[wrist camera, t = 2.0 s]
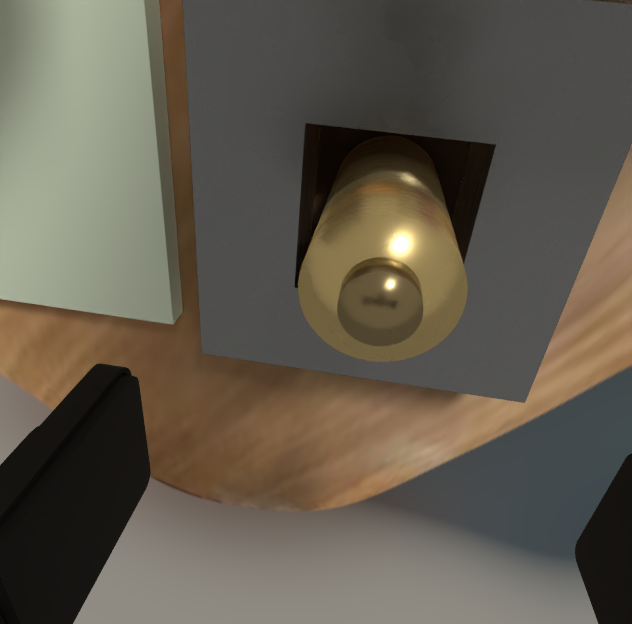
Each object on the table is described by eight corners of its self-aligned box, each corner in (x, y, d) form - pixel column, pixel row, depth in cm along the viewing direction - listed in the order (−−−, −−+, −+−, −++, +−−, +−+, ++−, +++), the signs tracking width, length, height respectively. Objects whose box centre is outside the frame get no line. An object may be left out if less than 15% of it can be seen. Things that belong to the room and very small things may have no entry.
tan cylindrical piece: (341, 129, 22) (297, 214, 12) (448, 141, 22) (494, 239, 12) (331, 229, 25) (287, 367, 15) (426, 241, 25) (449, 392, 14)
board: (-136, -29, 22) (-168, -32, 21) (159, -1, 21) (144, -3, 19) (-31, 280, 30) (-50, 291, 29) (182, 311, 29) (173, 324, 28)
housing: (225, -23, 20) (180, -37, 16) (620, 12, 19) (687, 8, 15) (230, 304, 28) (201, 353, 24) (504, 343, 27) (524, 402, 23)
